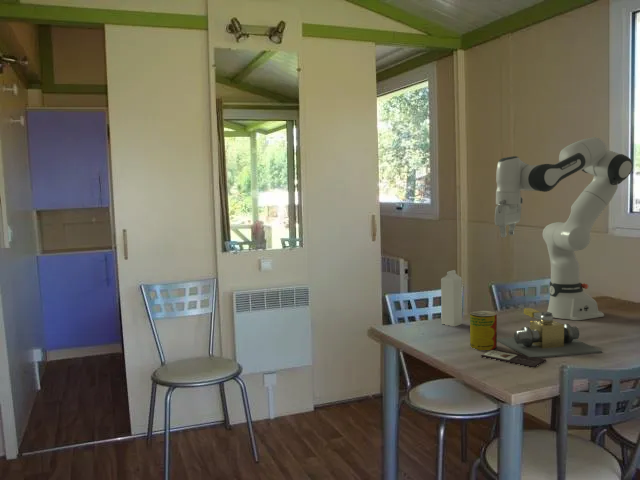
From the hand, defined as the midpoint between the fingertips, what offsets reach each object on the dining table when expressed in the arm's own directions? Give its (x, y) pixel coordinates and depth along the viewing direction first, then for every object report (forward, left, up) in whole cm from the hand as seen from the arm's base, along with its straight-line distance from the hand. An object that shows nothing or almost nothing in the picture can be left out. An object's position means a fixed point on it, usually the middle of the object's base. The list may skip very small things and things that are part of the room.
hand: (507, 236), depth 220 cm
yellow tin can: (+19, +19, -37) cm, 45 cm away
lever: (-2, +18, -28) cm, 33 cm away
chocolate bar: (+16, +34, -37) cm, 52 cm away
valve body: (-2, +24, -36) cm, 43 cm away
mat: (-2, +24, -36) cm, 43 cm away
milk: (+17, -14, -37) cm, 43 cm away
